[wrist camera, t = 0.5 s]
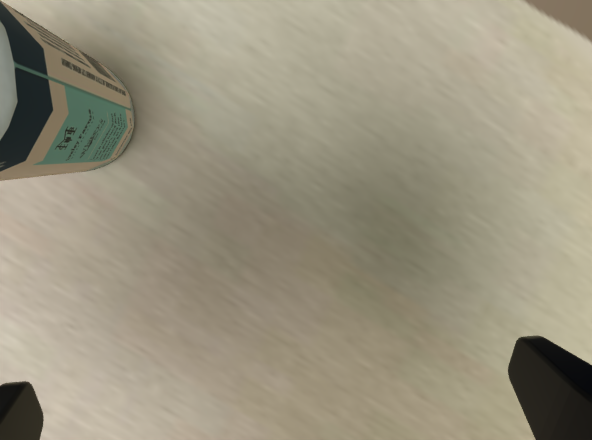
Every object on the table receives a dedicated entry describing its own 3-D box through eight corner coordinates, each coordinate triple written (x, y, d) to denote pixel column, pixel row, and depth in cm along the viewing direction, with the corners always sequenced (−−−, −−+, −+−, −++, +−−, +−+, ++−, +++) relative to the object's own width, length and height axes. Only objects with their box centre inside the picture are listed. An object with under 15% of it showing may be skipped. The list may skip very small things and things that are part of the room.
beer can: (14, 62, 19) (-342, -79, 8) (129, 56, 20) (-38, -88, 8) (33, 175, 20) (-265, 206, 8) (144, 166, 21) (11, 183, 9)
